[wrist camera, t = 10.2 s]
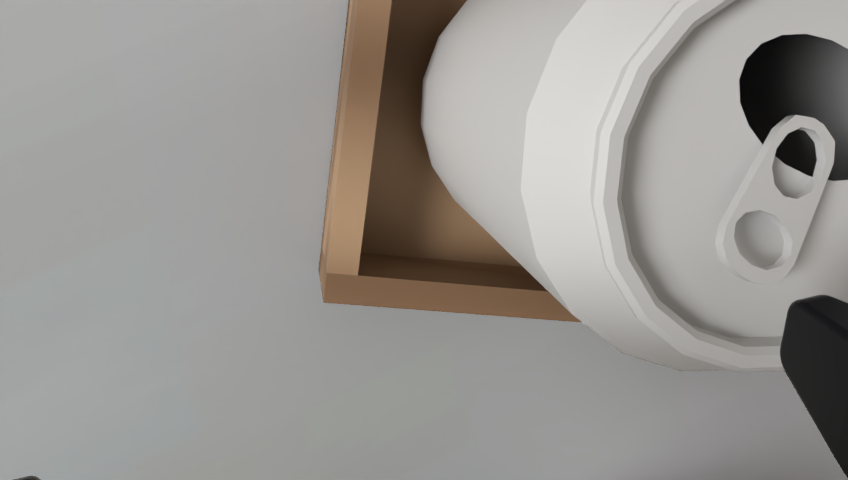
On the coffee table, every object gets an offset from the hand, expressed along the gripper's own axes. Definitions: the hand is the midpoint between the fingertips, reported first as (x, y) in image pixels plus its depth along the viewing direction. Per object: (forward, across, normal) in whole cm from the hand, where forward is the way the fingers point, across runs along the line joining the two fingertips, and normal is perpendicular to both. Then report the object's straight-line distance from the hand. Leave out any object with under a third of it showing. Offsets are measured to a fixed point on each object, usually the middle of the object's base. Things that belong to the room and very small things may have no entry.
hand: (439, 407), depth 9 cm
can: (+14, -6, +3) cm, 15 cm away
